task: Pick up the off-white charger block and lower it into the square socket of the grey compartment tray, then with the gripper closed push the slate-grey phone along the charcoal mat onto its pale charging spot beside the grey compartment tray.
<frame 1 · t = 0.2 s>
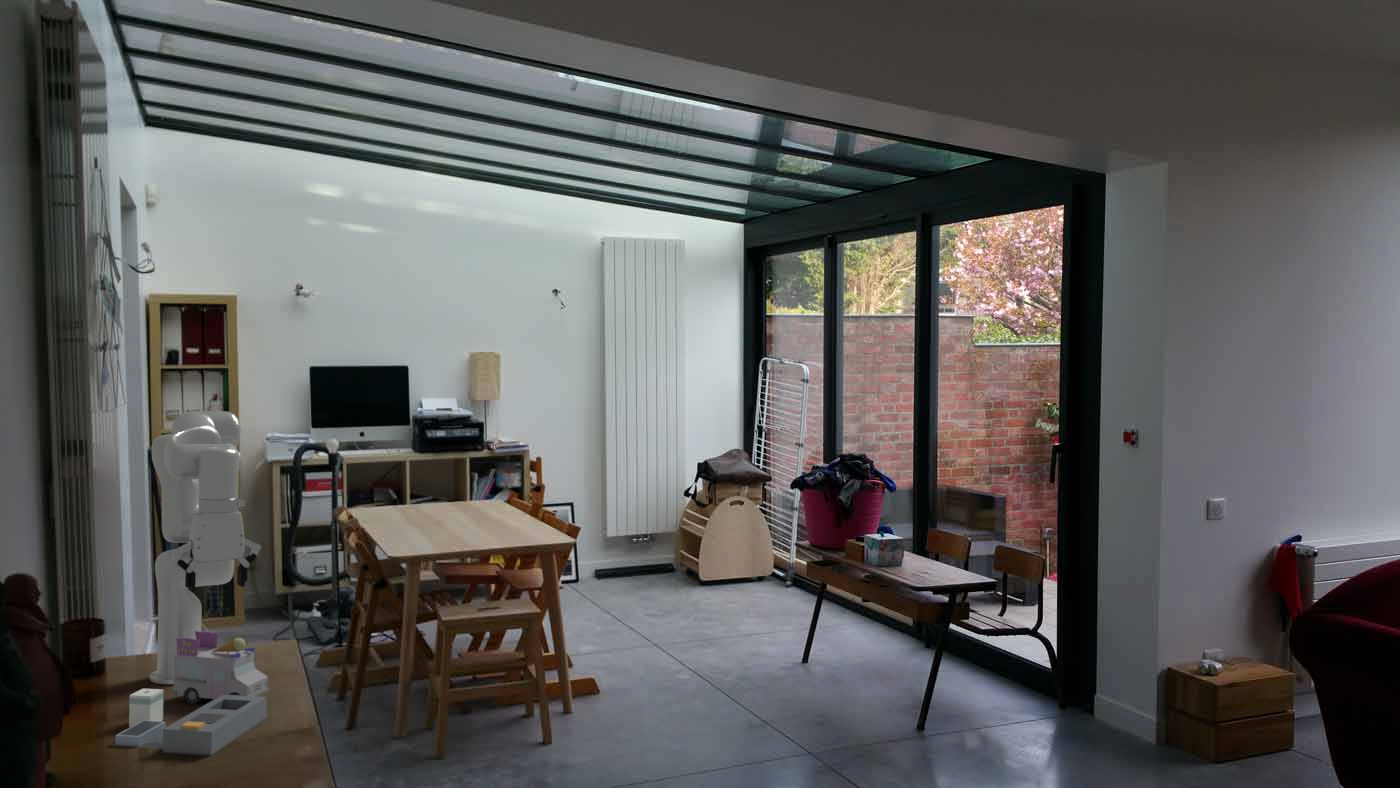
hand: (216, 588, 216), 31 cm above the table, tool pointing down, fingers open, 9 cm apart
grey compartment tray: (217, 736, 215), on the table
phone: (141, 737, 212), resting on mat
charger: (146, 724, 220), on the table
mat: (154, 739, 212), on the table
toy vehicle: (220, 702, 237), on the table
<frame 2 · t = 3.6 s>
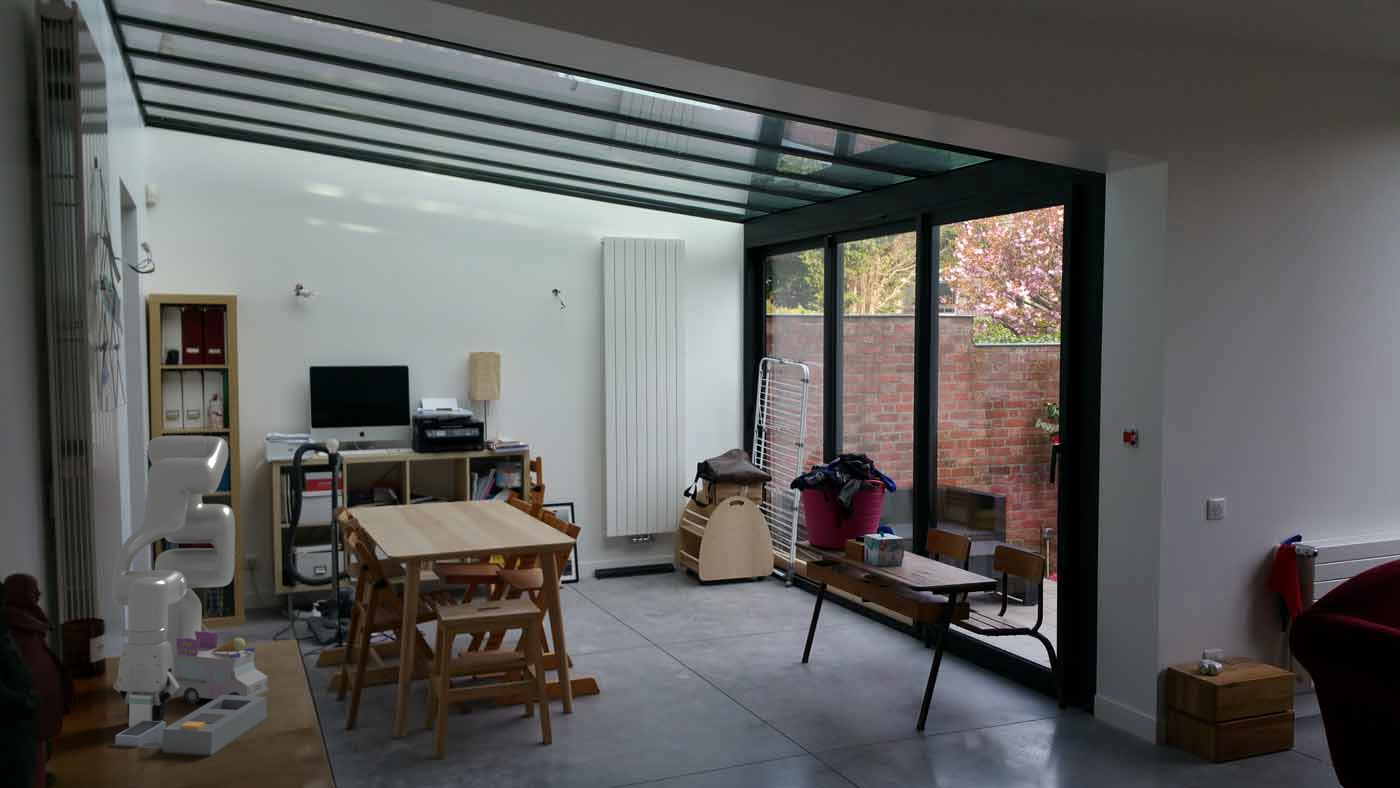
hand: (146, 720, 220), 1 cm above the table, tool pointing down, fingers closed on charger, 4 cm apart
charger: (145, 724, 220), on the table, touching gripper
everything else where it was.
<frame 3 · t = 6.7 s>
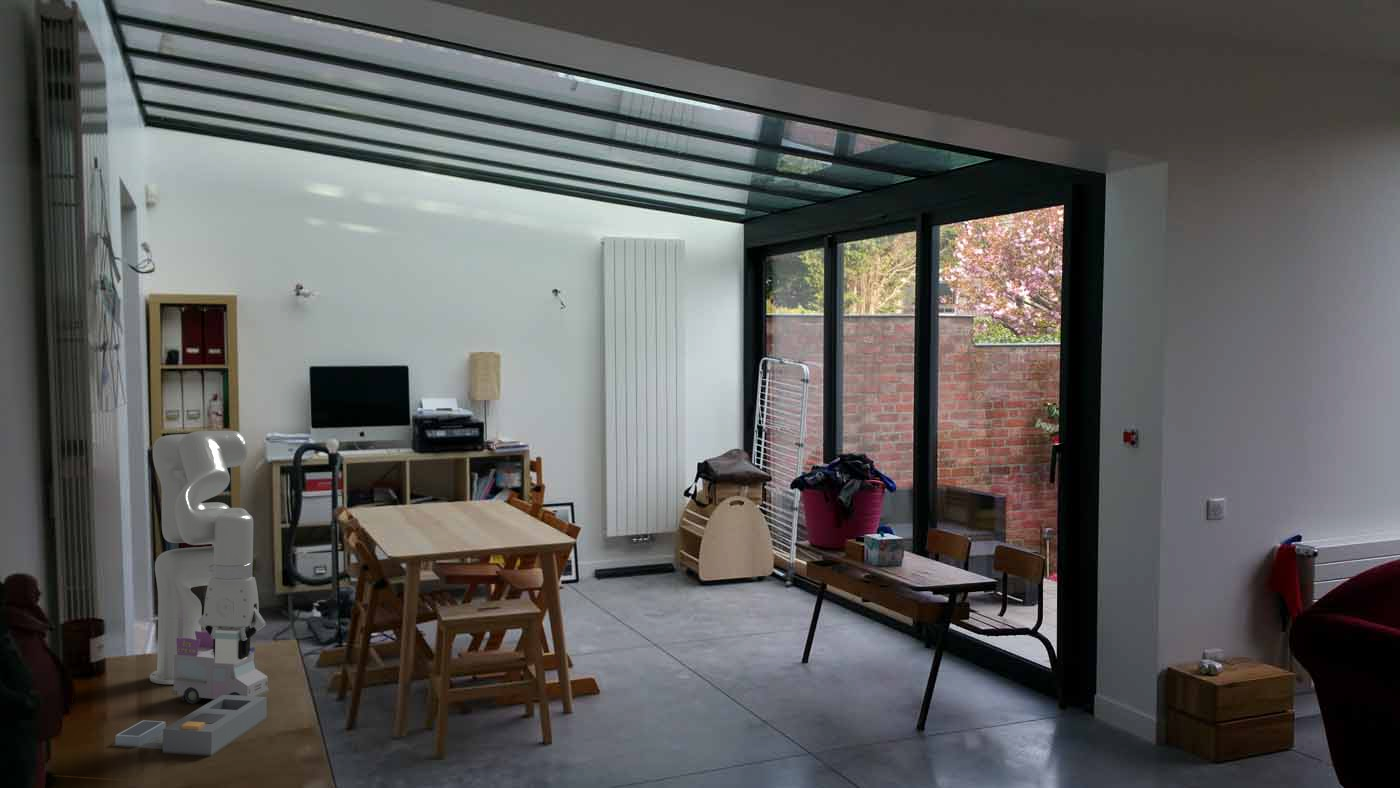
hand: (231, 656, 220), 15 cm above the table, tool pointing down, fingers closed on charger, 4 cm apart
charger: (231, 660, 220), point 14 cm above the table, touching gripper
everything else where it was.
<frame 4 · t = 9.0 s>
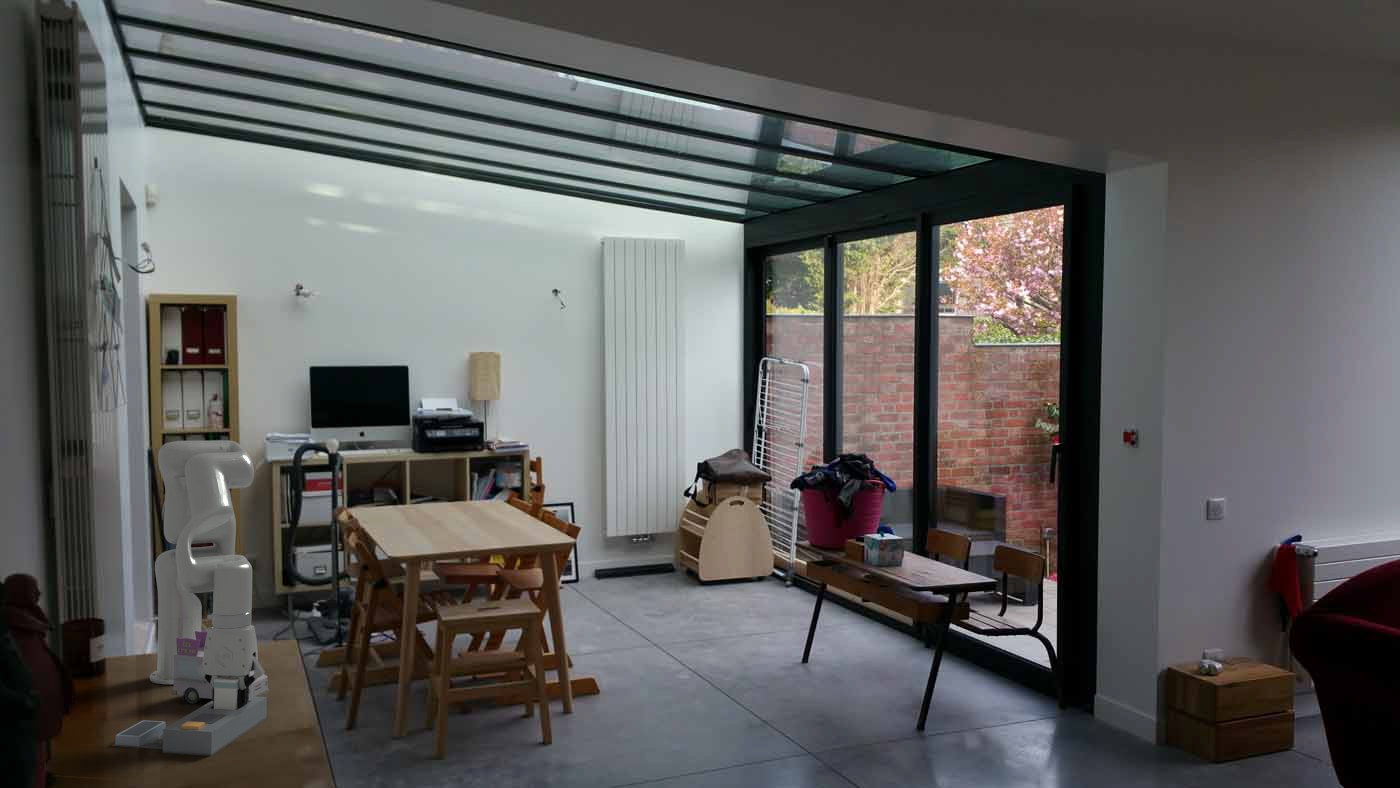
hand: (230, 704, 220), 5 cm above the table, tool pointing down, fingers closed on charger, 4 cm apart
charger: (230, 709, 220), point 4 cm above the table, touching gripper
everything else where it was.
when the fingers open (5 cm above the table, at t = 10.1 s): charger drops 3 cm, resting on grey compartment tray.
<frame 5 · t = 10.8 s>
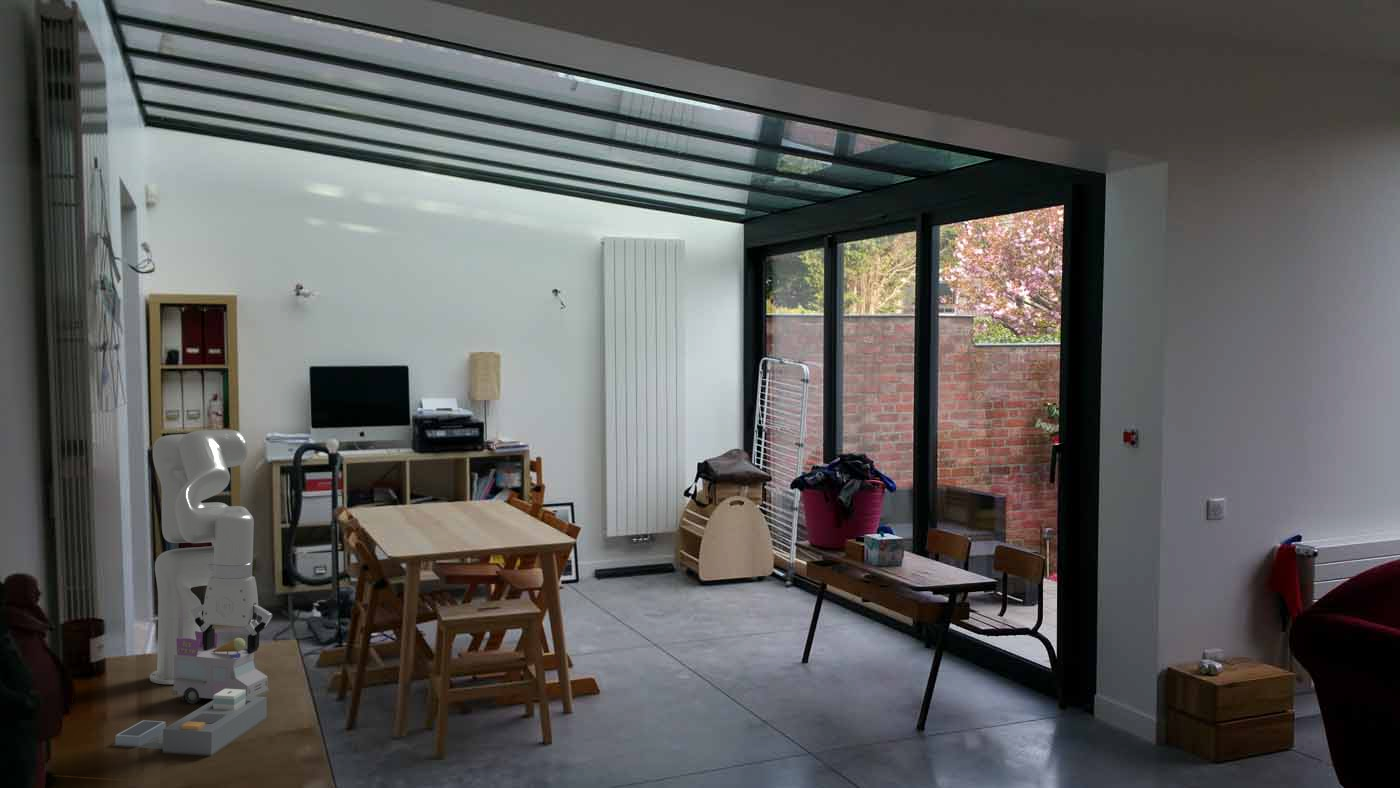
hand: (230, 650, 220), 16 cm above the table, tool pointing down, fingers open, 9 cm apart
charger: (229, 725, 220), point 1 cm above the table, touching grey compartment tray
everything else where it was.
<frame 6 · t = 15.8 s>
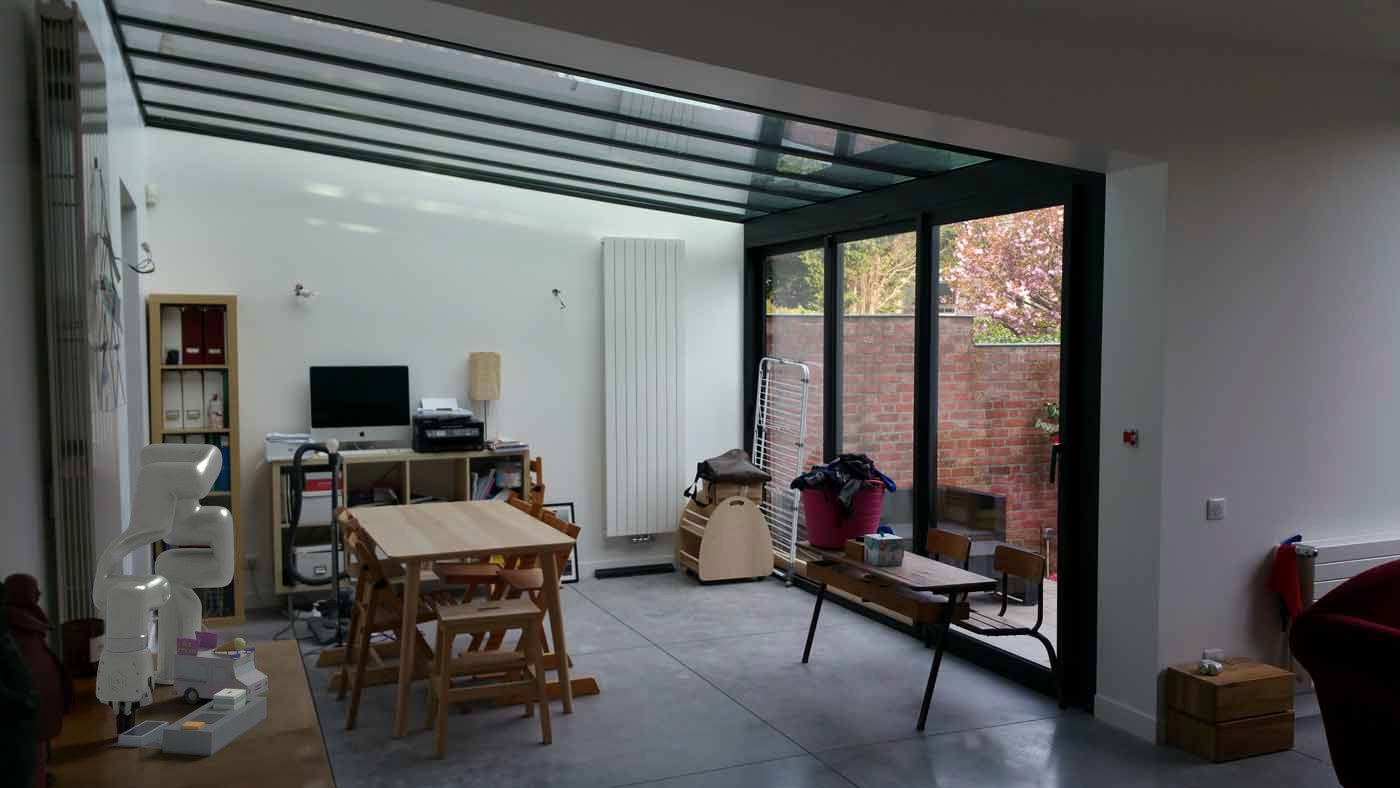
hand: (125, 731, 212), 1 cm above the table, tool pointing down, fingers closed
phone: (144, 737, 212), resting on mat, touching gripper
everything else where it was.
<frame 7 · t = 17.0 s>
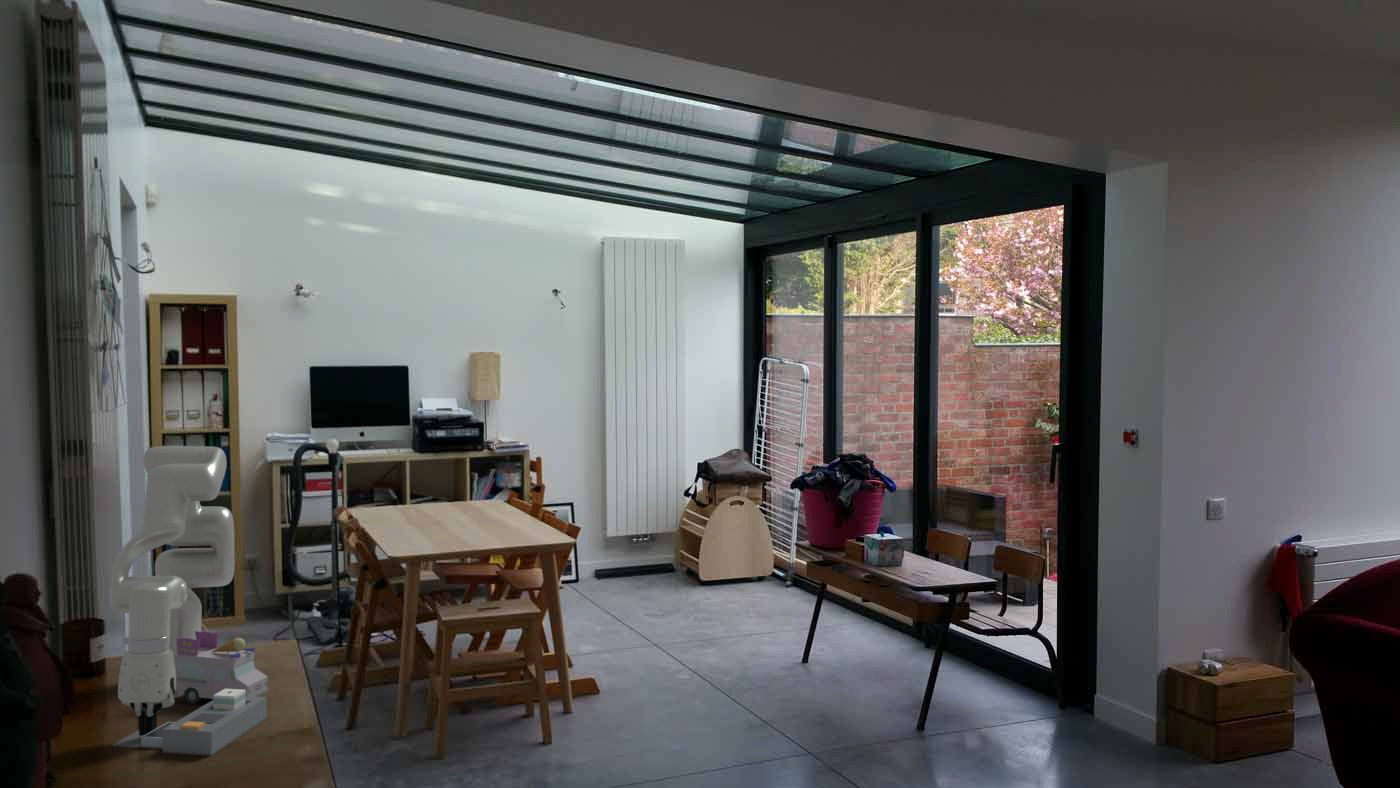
hand: (147, 733, 212), 1 cm above the table, tool pointing down, fingers closed
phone: (166, 739, 212), resting on mat, touching gripper
everything else where it was.
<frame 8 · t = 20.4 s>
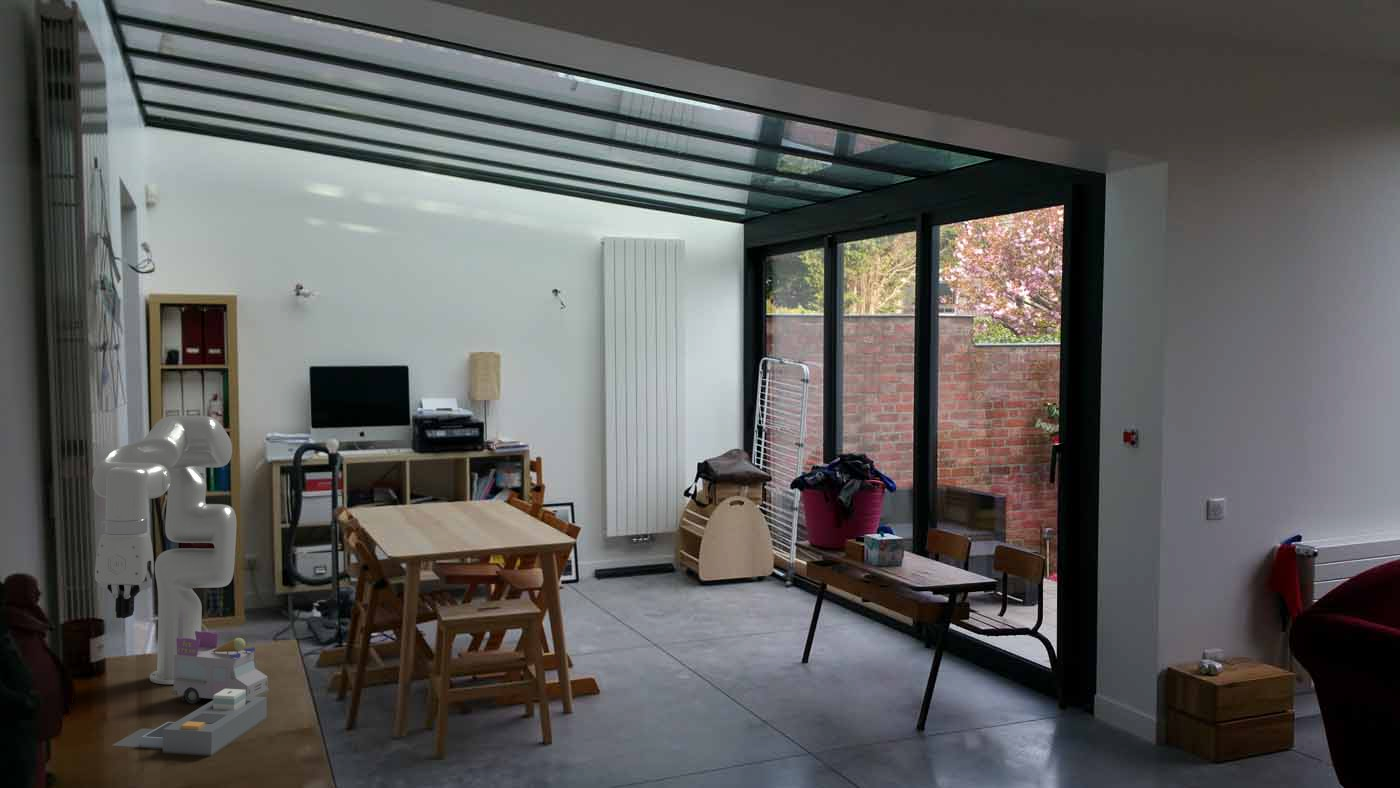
hand: (124, 616, 212), 25 cm above the table, tool pointing down, fingers closed
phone: (166, 739, 212), resting on mat
everything else where it was.
at the end: charger 0.2 cm from the target spot on the grey compartment tray, point 0.6 cm above the grey compartment tray's base; charger tilted 0°; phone inside the target area (0.1 cm from its centre), resting on mat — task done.
